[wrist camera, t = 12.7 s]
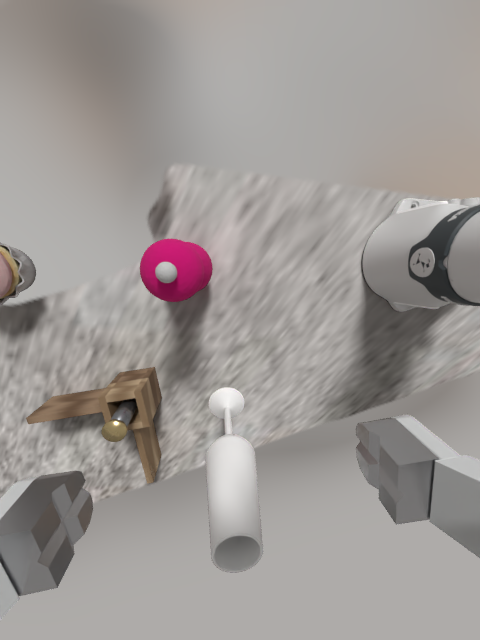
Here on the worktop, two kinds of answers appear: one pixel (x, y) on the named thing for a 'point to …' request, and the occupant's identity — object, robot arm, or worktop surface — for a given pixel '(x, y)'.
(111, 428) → the hinge pin
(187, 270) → the pepper mill
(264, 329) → the worktop surface
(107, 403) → the hinge
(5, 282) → the cupcake
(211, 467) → the champagne flute
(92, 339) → the worktop surface
